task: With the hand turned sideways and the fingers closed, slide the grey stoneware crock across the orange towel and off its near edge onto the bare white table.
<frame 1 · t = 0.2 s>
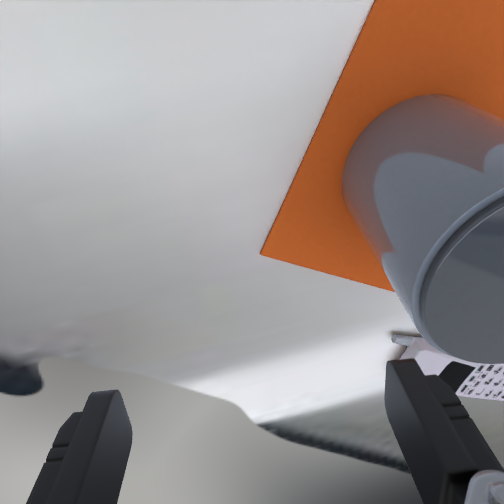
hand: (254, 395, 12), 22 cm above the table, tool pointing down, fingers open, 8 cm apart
crock: (416, 173, 33), resting on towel
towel: (421, 160, 33), on the table
grey white handled utensil: (480, 361, 47), on the table
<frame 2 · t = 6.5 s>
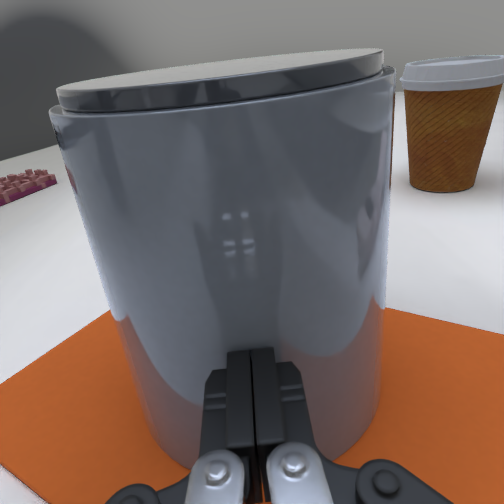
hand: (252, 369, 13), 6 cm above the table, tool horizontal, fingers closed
crock: (259, 373, 21), resting on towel
disposable coffee cup: (440, 184, 45), on the table
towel: (244, 383, 21), on the table
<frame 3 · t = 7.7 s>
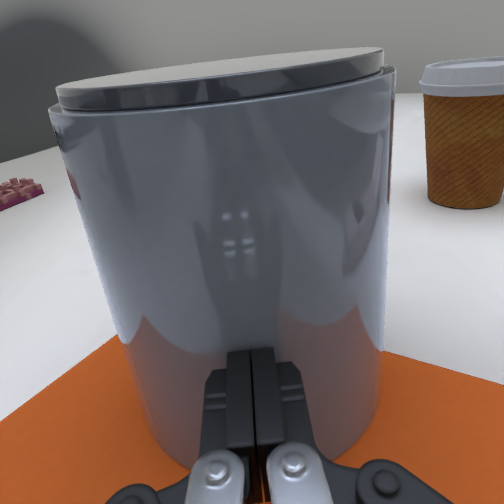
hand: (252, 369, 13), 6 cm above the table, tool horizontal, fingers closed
crock: (259, 373, 21), resting on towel
disposable coffee cup: (462, 199, 40), on the table
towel: (246, 468, 17), on the table
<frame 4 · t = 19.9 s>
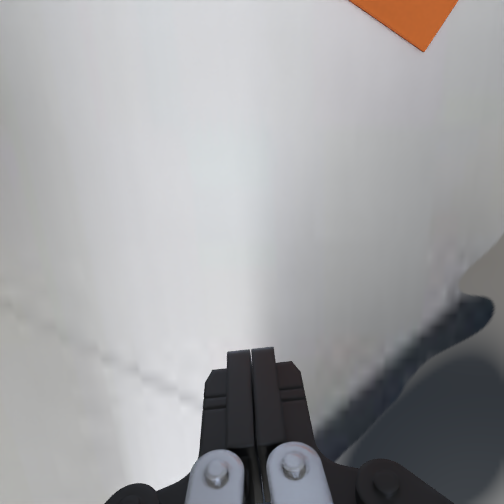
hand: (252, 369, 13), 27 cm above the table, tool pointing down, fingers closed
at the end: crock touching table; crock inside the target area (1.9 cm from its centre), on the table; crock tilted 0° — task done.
